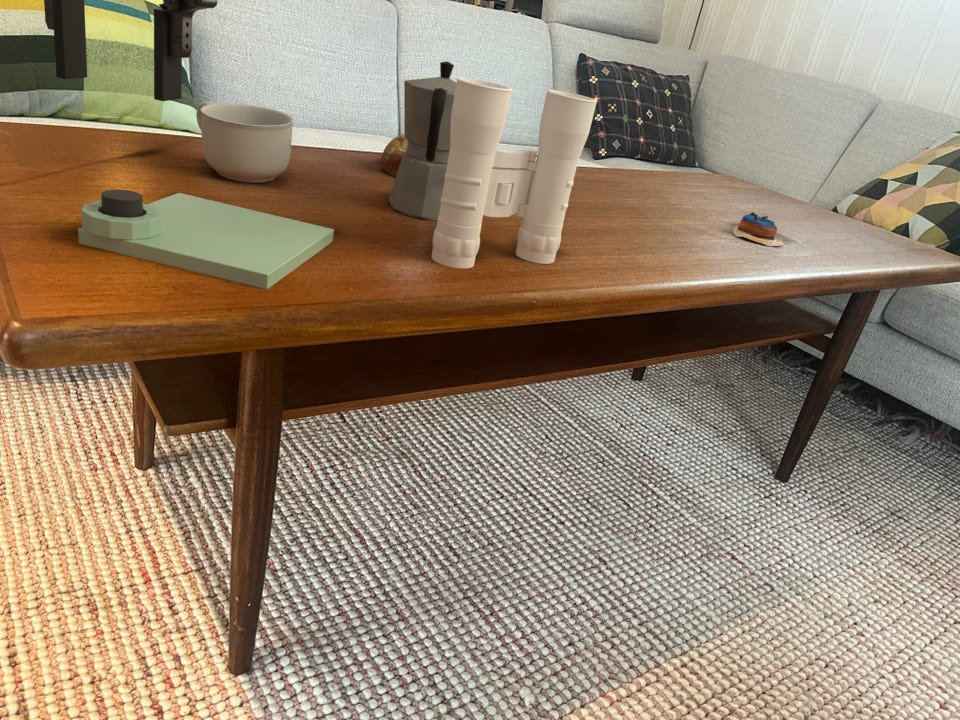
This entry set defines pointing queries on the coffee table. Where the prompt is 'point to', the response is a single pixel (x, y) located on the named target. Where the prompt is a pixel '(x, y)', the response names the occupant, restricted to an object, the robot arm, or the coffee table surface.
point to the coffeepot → (425, 145)
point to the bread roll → (394, 154)
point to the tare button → (122, 203)
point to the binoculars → (508, 173)
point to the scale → (207, 238)
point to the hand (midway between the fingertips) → (119, 87)
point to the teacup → (245, 140)
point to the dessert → (758, 230)
